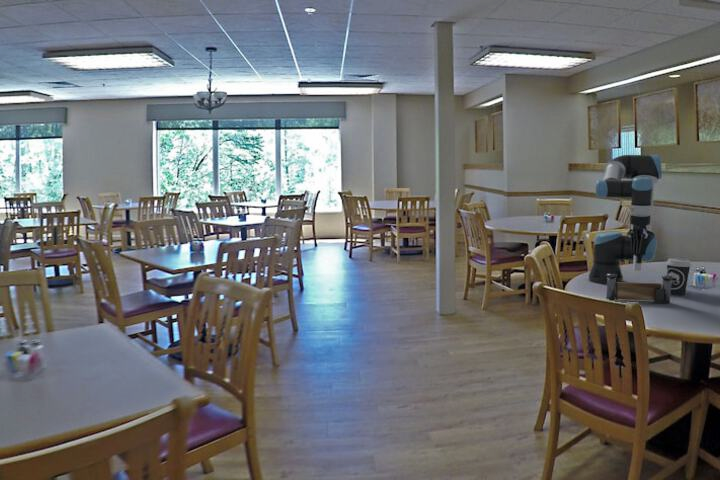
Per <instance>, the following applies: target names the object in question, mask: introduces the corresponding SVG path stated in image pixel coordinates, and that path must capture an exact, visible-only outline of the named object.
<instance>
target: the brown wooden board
mask: <svg viewBox="0 0 720 480" xmlns="http://www.w3.org/2000/svg"><path fill="white" fill-rule="evenodd" d="M655 288H662V283H655V282H631V281H630V282H627V281H626V282H625V281H623V282H617V283H616V287H615V300H616V301H617V300H622V301H623V300H624V301H625V300H628V301H631V300H632V301H649V302H650V301H651V302H654V294H655Z"/></svg>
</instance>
